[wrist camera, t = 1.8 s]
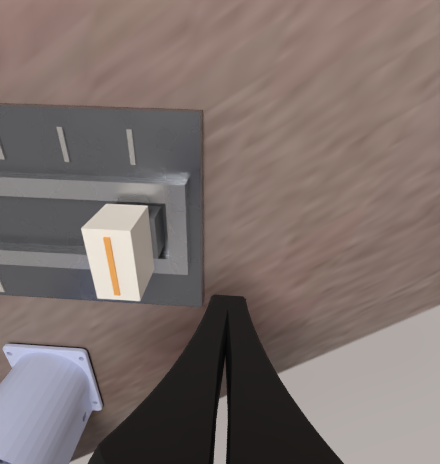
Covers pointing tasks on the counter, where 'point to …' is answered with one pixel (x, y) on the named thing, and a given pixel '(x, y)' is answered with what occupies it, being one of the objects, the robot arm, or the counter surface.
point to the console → (97, 195)
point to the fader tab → (123, 249)
